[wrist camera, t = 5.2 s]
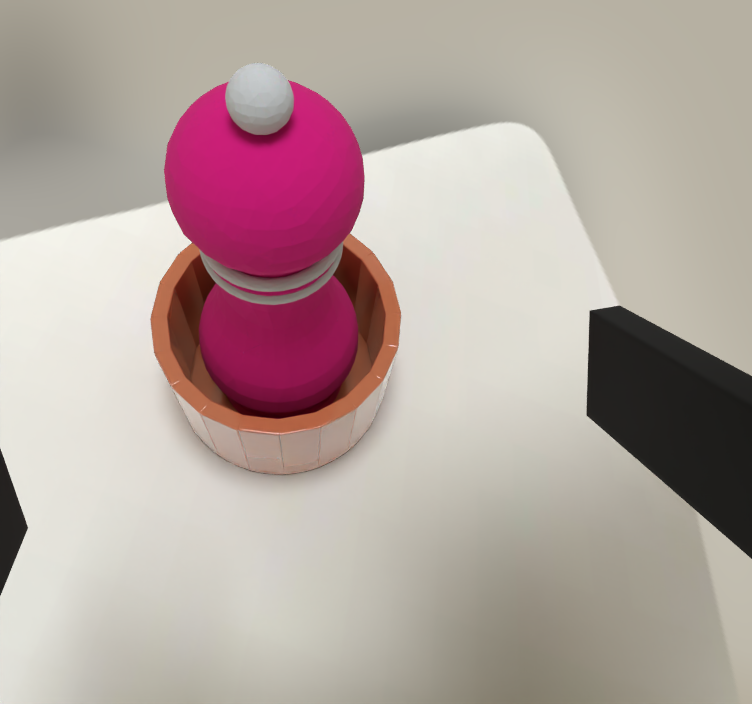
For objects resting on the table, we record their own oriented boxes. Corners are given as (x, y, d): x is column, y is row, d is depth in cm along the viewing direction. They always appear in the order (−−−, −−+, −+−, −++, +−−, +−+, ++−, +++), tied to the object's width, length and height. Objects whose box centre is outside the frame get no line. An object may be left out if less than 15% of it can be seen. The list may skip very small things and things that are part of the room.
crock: (421, 412, 36) (446, 360, 29) (236, 514, 33) (219, 481, 26) (322, 257, 39) (326, 180, 32) (146, 337, 36) (111, 270, 29)
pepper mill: (181, 380, 35) (42, 79, 16) (276, 285, 37) (246, -65, 19) (291, 467, 33) (272, 248, 15) (380, 362, 36) (455, 68, 18)
